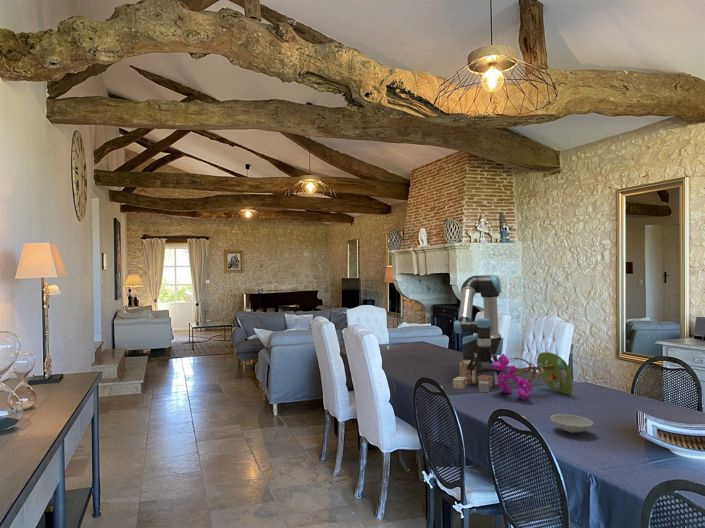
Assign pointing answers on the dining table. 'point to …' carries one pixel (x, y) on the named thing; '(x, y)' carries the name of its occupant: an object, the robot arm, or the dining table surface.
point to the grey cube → (484, 386)
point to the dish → (571, 422)
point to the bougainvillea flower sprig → (548, 367)
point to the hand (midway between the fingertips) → (485, 383)
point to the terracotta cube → (485, 379)
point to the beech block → (460, 382)
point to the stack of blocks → (467, 371)
